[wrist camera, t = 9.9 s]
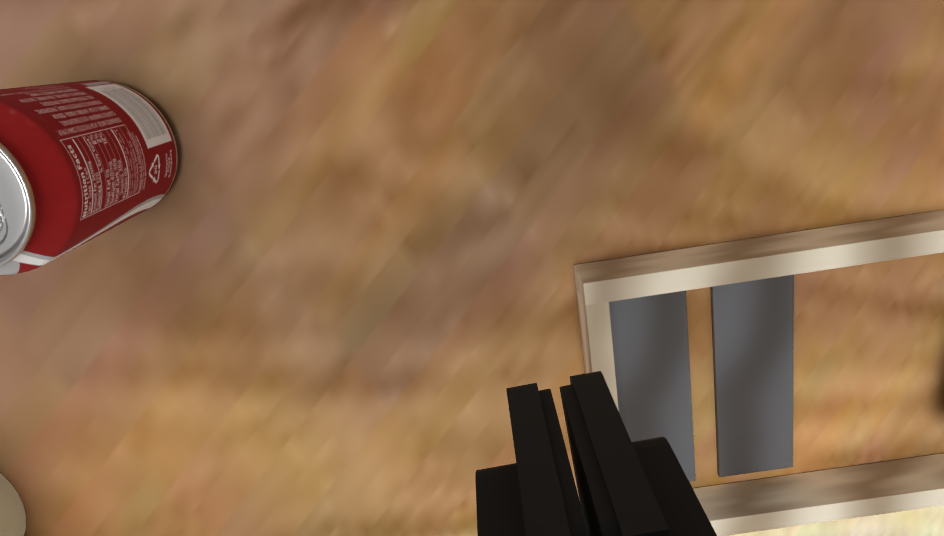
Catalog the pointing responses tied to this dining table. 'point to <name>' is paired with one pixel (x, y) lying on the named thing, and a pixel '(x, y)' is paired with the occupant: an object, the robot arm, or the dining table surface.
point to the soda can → (76, 166)
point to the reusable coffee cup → (11, 510)
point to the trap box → (744, 367)
